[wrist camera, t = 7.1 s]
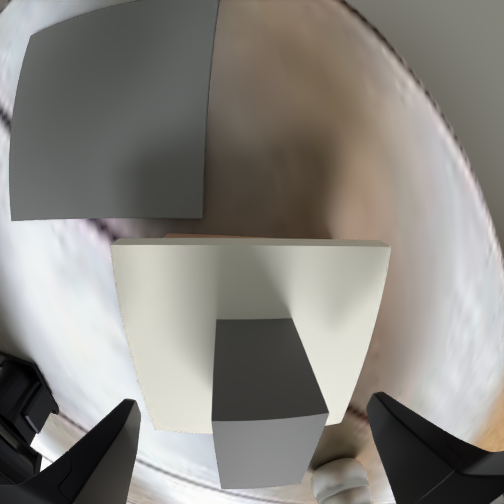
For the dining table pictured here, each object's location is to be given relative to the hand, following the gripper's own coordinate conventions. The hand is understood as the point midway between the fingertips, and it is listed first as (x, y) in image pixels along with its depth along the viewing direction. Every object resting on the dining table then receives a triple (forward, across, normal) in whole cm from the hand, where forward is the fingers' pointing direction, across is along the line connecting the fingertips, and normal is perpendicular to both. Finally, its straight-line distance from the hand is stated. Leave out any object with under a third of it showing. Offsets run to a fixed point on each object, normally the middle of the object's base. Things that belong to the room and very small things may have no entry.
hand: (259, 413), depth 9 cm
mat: (+8, +9, -12) cm, 17 cm away
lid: (+4, 0, 0) cm, 4 cm away
